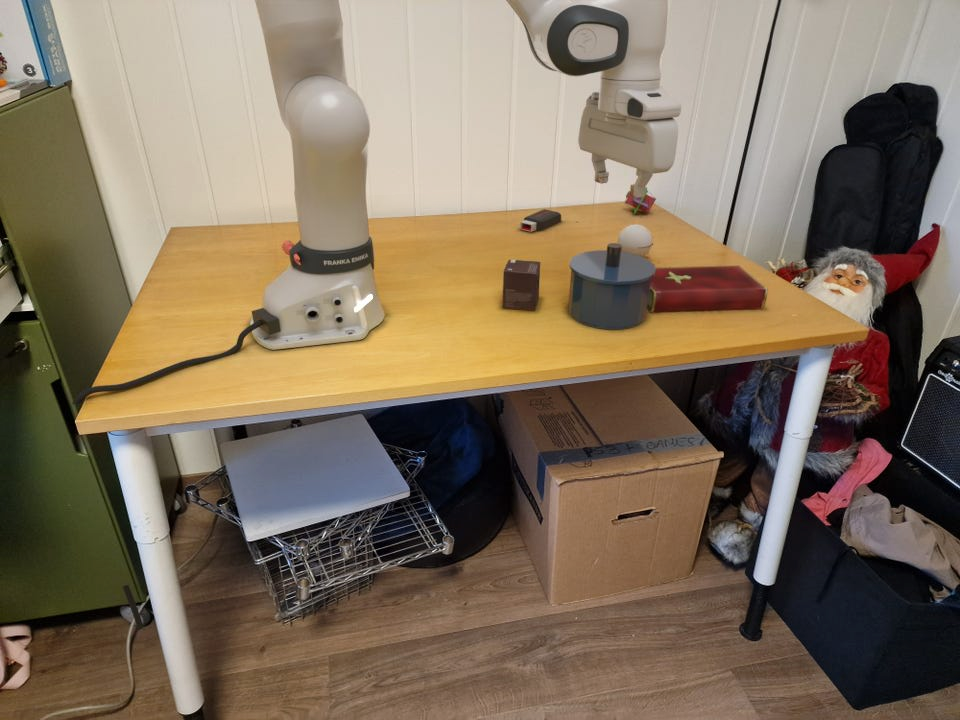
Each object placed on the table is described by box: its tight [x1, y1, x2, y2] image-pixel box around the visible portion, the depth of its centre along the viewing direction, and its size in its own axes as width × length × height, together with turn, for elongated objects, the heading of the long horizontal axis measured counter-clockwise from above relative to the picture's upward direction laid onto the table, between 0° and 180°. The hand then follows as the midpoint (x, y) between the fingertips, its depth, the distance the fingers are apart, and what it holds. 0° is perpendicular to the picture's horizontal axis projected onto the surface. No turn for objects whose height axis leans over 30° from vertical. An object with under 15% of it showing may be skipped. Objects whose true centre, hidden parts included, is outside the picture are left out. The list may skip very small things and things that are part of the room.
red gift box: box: [624, 186, 657, 216], centre depth 167 cm, size 7×7×8 cm
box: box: [502, 259, 541, 312], centre depth 117 cm, size 6×6×7 cm
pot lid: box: [568, 242, 657, 284], centre depth 111 cm, size 15×15×5 cm
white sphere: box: [616, 223, 656, 257], centre depth 139 cm, size 10×7×7 cm
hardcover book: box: [647, 265, 769, 313], centre depth 121 cm, size 12×21×4 cm, turn 95°
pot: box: [567, 269, 652, 331], centre depth 114 cm, size 14×14×8 cm
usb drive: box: [519, 209, 562, 233], centre depth 158 cm, size 5×12×3 cm, turn 143°
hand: (618, 189), depth 105 cm, fingers open, 8 cm apart
